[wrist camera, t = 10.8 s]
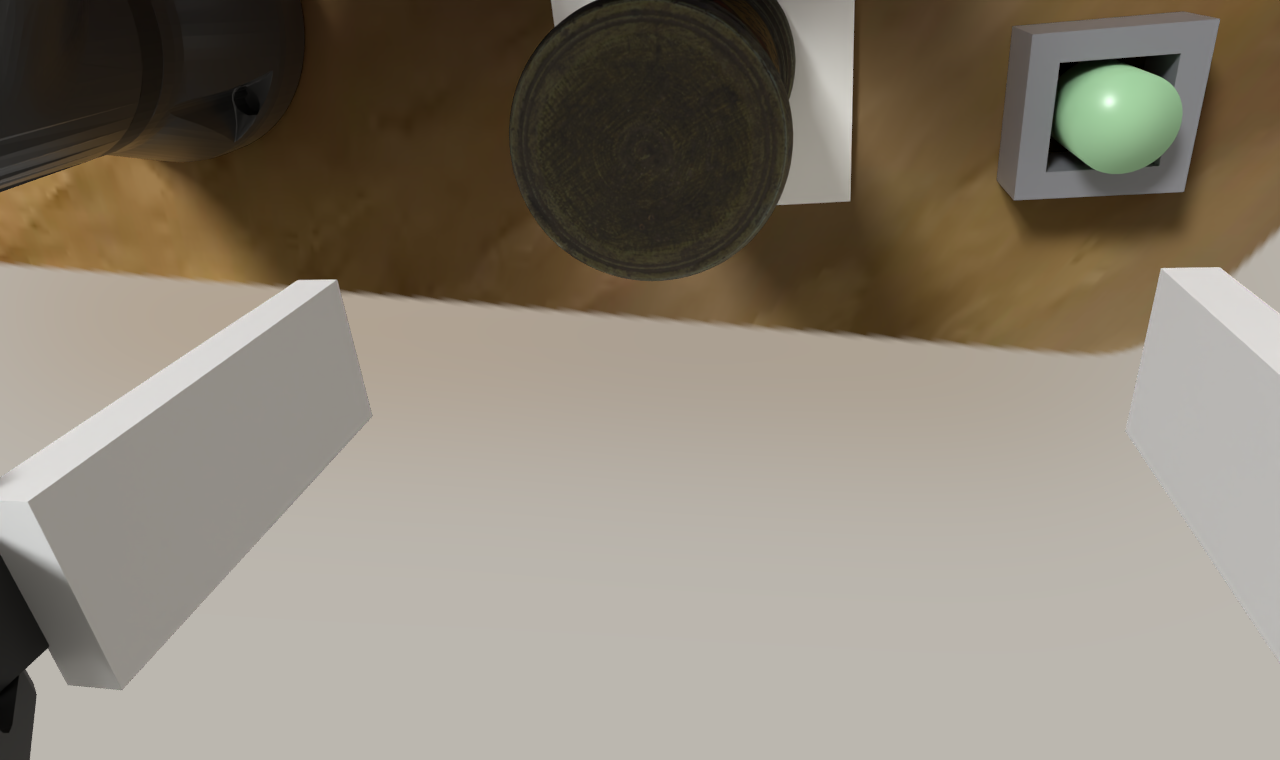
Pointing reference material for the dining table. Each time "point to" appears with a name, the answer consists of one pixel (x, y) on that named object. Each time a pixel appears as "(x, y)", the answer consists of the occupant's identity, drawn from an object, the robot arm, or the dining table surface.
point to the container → (656, 132)
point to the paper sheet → (810, 97)
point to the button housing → (1037, 51)
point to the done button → (1115, 115)
